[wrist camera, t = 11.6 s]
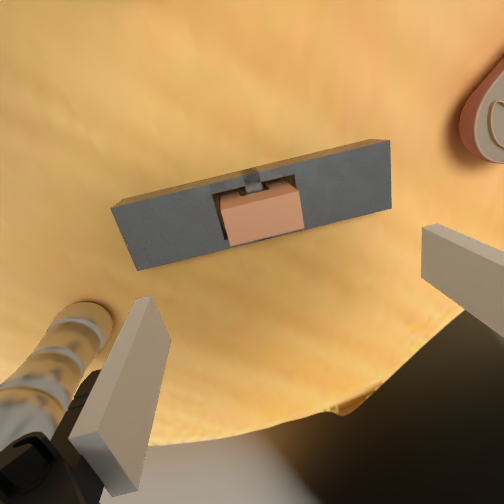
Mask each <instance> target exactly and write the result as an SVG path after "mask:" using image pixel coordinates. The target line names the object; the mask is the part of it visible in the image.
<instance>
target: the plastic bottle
mask: <svg viewBox="0 0 504 504" xmlns="http://www.w3.org/2000/svg"><path fill="white" fill-rule="evenodd" d="M112 328H113V322H112V318H111V316H110V315H109V313H108V312H107V310H106V309H104V308H103V307H102V306H100V305H98V304H95V303H91V302H79V303H74V304H72V305H69V306H68V307H66V308H65V309H63V310H62V311H61V312H59V313H58V314H57V315H56V316H55V317H54V319H53V321H52V322H51V324H50V326H49V327H48V329H47V332H46V334H45V336H44V337H43V338H42V340H41V341H40V343H39V344H38V346H37V347H36V349H35V350H34V352H33V353H32V354H31V355H30V356H29V357H28V358H27V359H26V361H25V362H24V363H23V364H22V365H21V366H20V367H19V368H18V369H17V370H16V371H15V372H14V373H13V374H12V375H11V376H10V377H9V378H8V379H6V380H5V381H4V382H3V383H2V384H1V385H0V452H1V451H2V450H3V449H4V448H6V447H7V446H8V445H9V444H10V443H12V442H13V441H15V440H16V439H18V438H20V437H21V436H23V435H25V434H28V433H31V432H43V433H44V434H45V435H46V437H47V438H48V439H49V440H51V438H52V437H53V435H54V433H55V431H56V429H57V427H58V425H59V424H60V422H61V420H62V418H63V416H64V414H65V412H66V411H68V407H69V405H70V403H71V401H72V398H73V396H74V393H75V391H76V389H77V387H78V385H79V383H80V380H81V379H82V377H83V375H84V372H85V371H86V369H87V368H88V366H89V365H90V363H91V362H92V361H93V359H94V358H95V356H96V355H97V354H98V353H99V352H100V351H101V350H102V348H103V347H104V346H105V344H106V343H107V342H108V340H109V339H110V335H111V332H112Z"/></svg>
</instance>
